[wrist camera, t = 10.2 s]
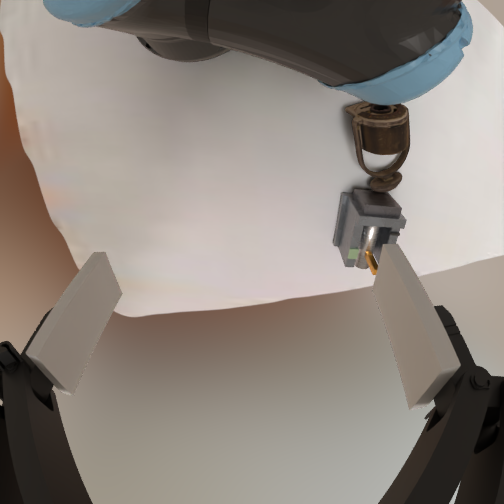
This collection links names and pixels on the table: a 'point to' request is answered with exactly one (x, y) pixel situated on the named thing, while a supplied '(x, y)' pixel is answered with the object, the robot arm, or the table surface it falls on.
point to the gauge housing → (352, 228)
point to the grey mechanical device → (377, 206)
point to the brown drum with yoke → (381, 138)
